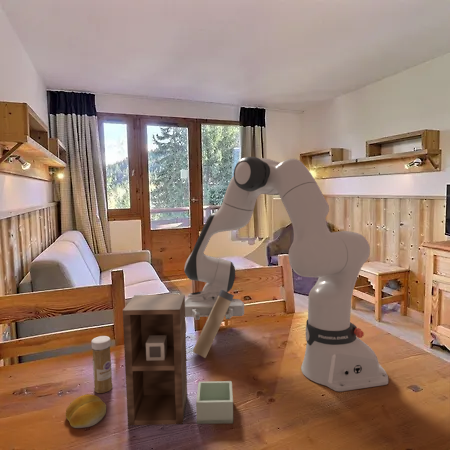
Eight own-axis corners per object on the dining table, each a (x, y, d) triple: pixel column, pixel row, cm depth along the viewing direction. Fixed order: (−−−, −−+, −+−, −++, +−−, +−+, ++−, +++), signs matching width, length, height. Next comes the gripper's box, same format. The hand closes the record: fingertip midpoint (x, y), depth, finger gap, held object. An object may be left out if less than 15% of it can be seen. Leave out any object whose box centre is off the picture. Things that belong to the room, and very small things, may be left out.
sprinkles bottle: (105, 395, 86) (102, 344, 85) (90, 392, 87) (87, 341, 86) (116, 385, 90) (113, 336, 89) (101, 382, 92) (99, 334, 90)
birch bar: (232, 295, 110) (234, 295, 106) (204, 354, 106) (205, 357, 102) (221, 289, 110) (222, 289, 106) (193, 349, 106) (193, 352, 102)
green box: (231, 400, 83) (231, 381, 83) (233, 423, 75) (232, 401, 75) (198, 401, 83) (198, 381, 83) (196, 423, 75) (196, 402, 75)
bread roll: (75, 435, 72) (74, 418, 72) (62, 415, 79) (61, 398, 79) (113, 418, 78) (112, 401, 77) (98, 400, 85) (97, 384, 84)
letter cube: (167, 351, 80) (166, 335, 80) (164, 360, 76) (163, 343, 76) (150, 351, 80) (149, 335, 80) (146, 360, 76) (145, 343, 76)
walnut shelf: (187, 396, 85) (184, 294, 82) (182, 424, 75) (179, 309, 72) (138, 397, 85) (134, 295, 82) (127, 425, 75) (122, 310, 72)
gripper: (243, 310, 119) (246, 326, 105) (184, 311, 119) (179, 327, 105) (243, 292, 118) (246, 306, 105) (184, 293, 118) (179, 307, 104)
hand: (212, 317), depth 105 cm, fingers open, 8 cm apart
